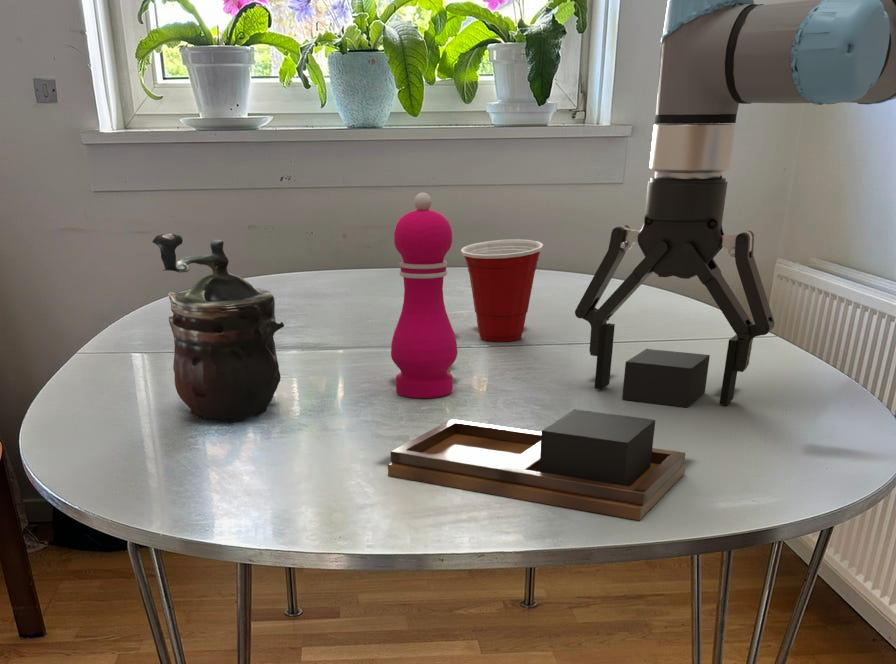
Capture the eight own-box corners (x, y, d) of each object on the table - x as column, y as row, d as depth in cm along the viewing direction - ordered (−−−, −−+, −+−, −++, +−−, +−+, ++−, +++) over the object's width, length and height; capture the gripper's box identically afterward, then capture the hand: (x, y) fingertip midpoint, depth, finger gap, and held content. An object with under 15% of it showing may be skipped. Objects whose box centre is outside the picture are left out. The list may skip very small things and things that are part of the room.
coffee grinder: (141, 436, 91) (108, 235, 83) (193, 397, 104) (170, 218, 95) (268, 440, 90) (249, 235, 81) (305, 399, 102) (292, 218, 94)
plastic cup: (443, 338, 130) (443, 244, 124) (498, 327, 136) (500, 237, 131) (500, 349, 123) (503, 250, 117) (555, 337, 129) (560, 243, 123)
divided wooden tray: (684, 473, 80) (687, 450, 79) (639, 520, 71) (642, 495, 70) (453, 438, 89) (453, 417, 88) (387, 475, 80) (387, 452, 79)
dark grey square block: (705, 392, 103) (710, 354, 101) (687, 407, 98) (692, 368, 96) (642, 385, 106) (646, 348, 104) (621, 399, 101) (625, 361, 99)
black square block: (650, 467, 78) (655, 419, 76) (622, 493, 73) (627, 442, 71) (570, 455, 81) (574, 409, 79) (538, 479, 76) (541, 430, 74)
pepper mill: (469, 388, 106) (472, 191, 96) (433, 403, 100) (433, 195, 91) (415, 380, 109) (413, 189, 100) (378, 394, 104) (372, 193, 94)
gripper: (831, 175, 89) (789, 400, 99) (580, 170, 100) (566, 373, 110) (817, 180, 83) (774, 417, 94) (553, 174, 94) (541, 387, 104)
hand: (662, 394), depth 102 cm, fingers open, 13 cm apart
